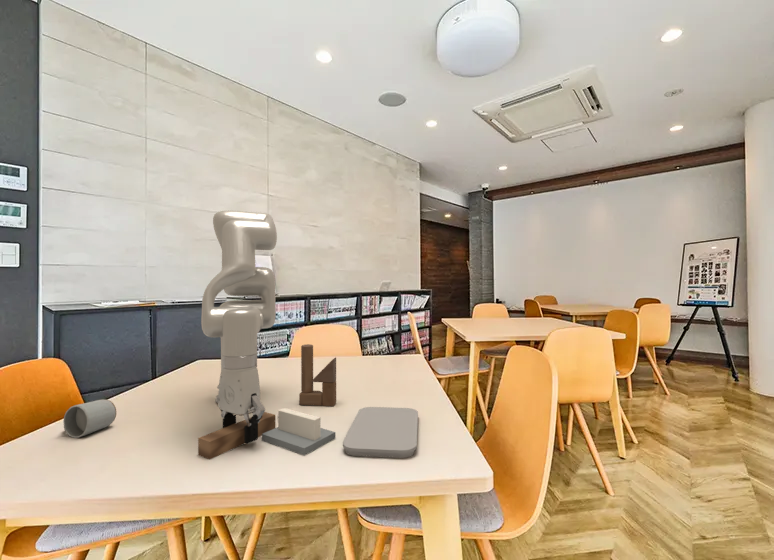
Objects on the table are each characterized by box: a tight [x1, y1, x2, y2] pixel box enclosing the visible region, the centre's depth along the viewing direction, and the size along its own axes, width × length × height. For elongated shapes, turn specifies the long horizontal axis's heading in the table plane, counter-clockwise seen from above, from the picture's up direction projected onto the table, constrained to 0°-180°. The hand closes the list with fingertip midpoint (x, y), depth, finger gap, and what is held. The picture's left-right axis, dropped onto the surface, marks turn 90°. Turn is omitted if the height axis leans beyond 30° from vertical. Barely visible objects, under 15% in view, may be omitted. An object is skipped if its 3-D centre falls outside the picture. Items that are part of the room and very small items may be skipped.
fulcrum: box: [261, 407, 336, 456], centre depth 85 cm, size 14×10×6 cm
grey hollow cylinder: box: [62, 399, 117, 439], centre depth 90 cm, size 11×8×8 cm
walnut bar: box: [197, 411, 276, 460], centre depth 84 cm, size 18×4×4 cm, turn 150°
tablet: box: [342, 406, 419, 459], centre depth 88 cm, size 16×26×2 cm, turn 174°
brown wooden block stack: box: [298, 344, 337, 407], centre depth 110 cm, size 4×11×18 cm, turn 83°
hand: (240, 436), depth 84 cm, fingers open, 7 cm apart
